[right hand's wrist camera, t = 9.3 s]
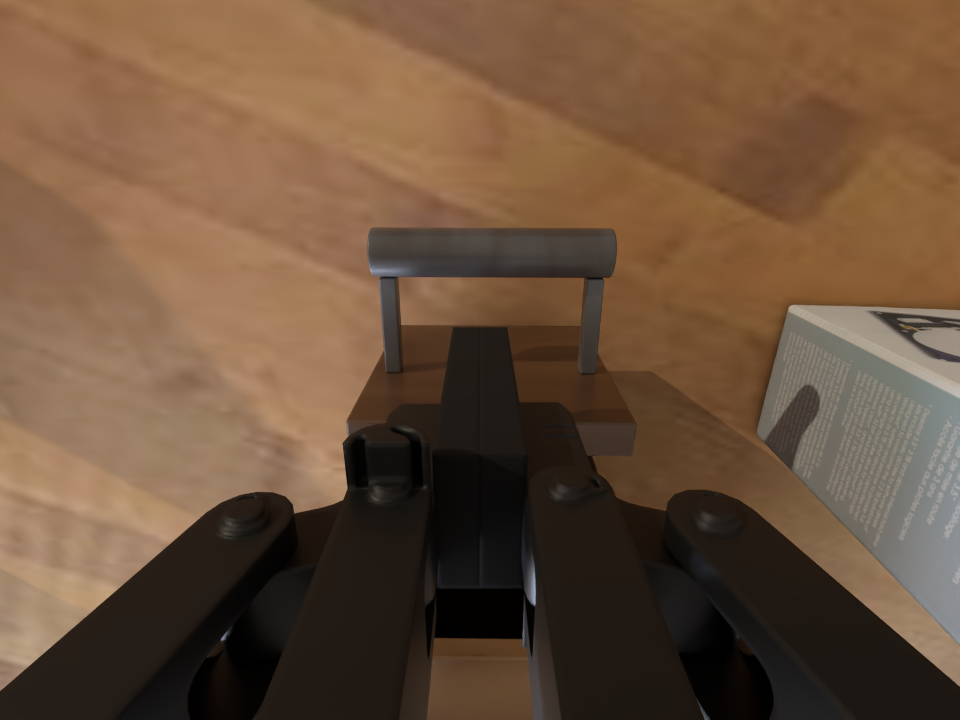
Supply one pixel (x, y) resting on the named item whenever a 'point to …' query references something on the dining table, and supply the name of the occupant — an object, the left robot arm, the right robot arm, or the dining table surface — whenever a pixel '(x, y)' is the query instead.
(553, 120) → the dining table surface
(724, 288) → the dining table surface
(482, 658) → the cabinet
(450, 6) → the dining table surface
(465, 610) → the drawer
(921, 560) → the hard drive box
